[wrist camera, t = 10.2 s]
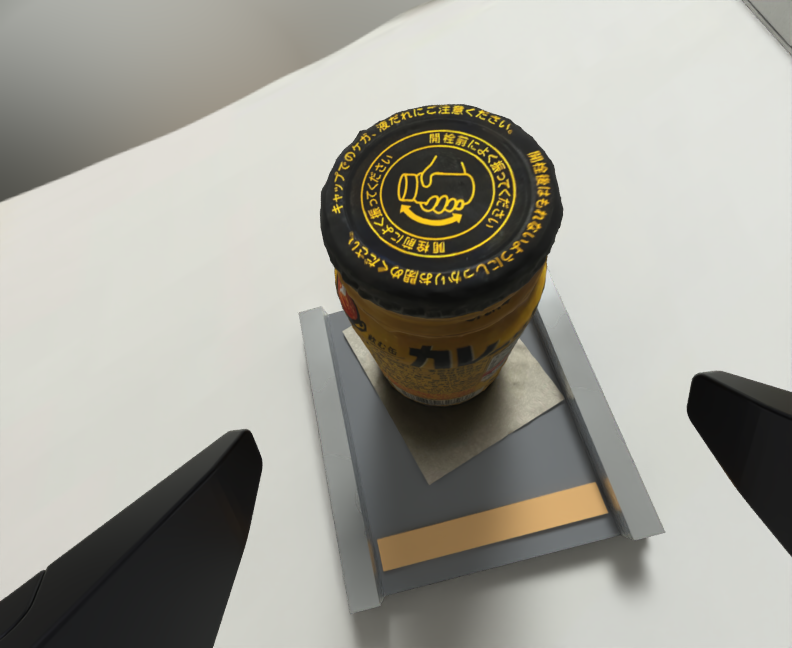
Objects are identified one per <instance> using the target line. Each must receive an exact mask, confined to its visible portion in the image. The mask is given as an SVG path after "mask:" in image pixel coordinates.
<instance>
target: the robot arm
mask: <svg viewBox="0 0 792 648" xmlns="http://www.w3.org/2000/svg"><path fill="white" fill-rule="evenodd" d="M687 414H688V417H689V419H690V421H691V422H692V424H693V425H694V427H695V428H696V430H697V431H698V433H699V434H700V436H701V437H702V439H703V440H704V442H705V443H706V445H707V446H708V448H709V449H710V451H711V452H712V454H713V455H714V457H715V458H716V460H717V461H718V463H719V464H720V466H721V467H722V469H723V470H724V472H725V473H726V475H727V476H728V478H729V479H730V480H731V482H732V483H733V485H734V486H735V487H736V489H737V490H738V491H739V493H740V494H741V495H742V497H743V498H744V499H745V500H746V502H747V503H748V504H749V505H750V507H751V508H752V509H753V510H754V512H755V513H756V514H757V515H758V516H759V518H760V519H761V520H762V521H763V523H764V524H765V525H766V526H767V527H768V529H769V530H770V531H771V532H772V534H773V535H774V536H775V537H776V538H777V540H778V541H779V542H780V543H781V545H782V546H783V547H784V548H785V549H786V551H787V552H788V553H789V554H790V556H791V557H792V392H790V391H786V390H783V389H780V388H776V387H773V386H770V385H766V384H763V383H760V382H757V381H753V380H750V379H747V378H743V377H740V376H737V375H733V374H730V373H727V372H723V371H710V372H702V373H698V374H696V375H694V377H693V378H692V382H691V387H690V392H689V398H688V403H687ZM261 473H262V458H261V455H260V452H259V450H258V447H257V445H256V442H255V440H254V437H253V435H252V433H251V432H250V430H248V429H241V430H233V431H229V432H227V433H226V434H224V435H223V436H222V437H220V438H219V439H218V440H216V441H215V442H213V443H212V444H211V445H209V446H208V447H207V448H205V449H204V450H203V451H201V452H200V453H199V454H197V455H196V456H195V457H193V458H192V459H191V460H189V461H188V462H187V463H185V464H184V465H183V466H181V467H180V468H179V469H177V470H176V471H175V472H173V473H172V474H171V475H169V476H168V477H167V478H165V479H164V480H163V481H161V482H160V483H159V484H157V485H156V486H155V487H153V488H152V489H151V490H149V491H148V492H146V493H145V494H144V495H142V496H141V497H140V498H138V499H137V500H136V501H134V502H133V503H132V504H130V505H129V506H128V507H126V508H125V509H124V510H122V511H121V512H120V513H118V514H117V515H116V516H114V517H113V518H112V519H110V520H109V521H108V522H106V523H105V524H104V525H102V526H101V527H100V528H98V529H97V530H96V531H94V532H93V533H92V534H90V535H89V536H88V537H86V538H85V539H84V540H82V541H81V542H80V543H78V544H77V545H75V546H74V547H73V548H71V549H70V550H69V551H67V552H66V553H65V554H63V555H62V556H61V557H59V558H58V559H57V560H55V561H54V562H53V563H51V564H50V565H49V566H48V567H47V569H46V570H42V571H40V572H39V573H38V574H36V575H35V576H34V577H32V578H31V579H30V580H28V581H27V582H26V583H24V584H23V585H22V586H20V587H19V588H18V589H16V590H15V591H14V592H12V593H11V594H10V595H8V596H7V597H6V598H4V599H3V600H1V601H0V648H213V646H214V643H215V639H216V636H217V633H218V630H219V627H220V624H221V621H222V618H223V614H224V611H225V608H226V605H227V602H228V599H229V596H230V592H231V589H232V586H233V583H234V580H235V577H236V574H237V571H238V567H239V564H240V561H241V558H242V555H243V552H244V548H245V545H246V542H247V538H248V534H249V529H250V525H251V520H252V515H253V511H254V506H255V501H256V496H257V492H258V487H259V482H260V477H261Z"/></svg>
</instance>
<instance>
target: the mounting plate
mask: <svg viewBox="0 0 792 648" xmlns="http://www.w3.org/2000/svg"><path fill="white" fill-rule="evenodd" d="M328 317H329V322H330V327H331V332H332V336H333V341H334V346H335V351H336V356H337V361H338V366H339V371H340V376H341V381H342V386H343V391H344V396H345V401H346V406H347V411H348V416H349V421H350V426H351V431H352V436H353V441H354V446H355V451H356V456H357V461H358V466H359V471H360V476H361V481H362V486H363V491H364V496H365V501H366V506H367V511H368V516H369V521H370V526H371V531H372V536H373V541H374V546H375V551H376V556H377V561H378V566H379V571H380V576H381V581H382V586H383V591H384V596H387V595H390V594H394V593H398V592H402V591H406V590H410V589H414V588H417V587H421V586H425V585H429V584H433V583H437V582H441V581H445V580H448V579H452V578H456V577H460V576H464V575H468V574H472V573H475V572H479V571H483V570H487V569H491V568H495V567H499V566H502V565H506V564H510V563H514V562H518V561H522V560H526V559H529V558H533V557H537V556H541V555H545V554H549V553H553V552H556V551H560V550H564V549H568V548H572V547H576V546H580V545H583V544H587V543H591V542H595V541H599V540H603V539H607V538H611V537H614V536H618V535H621V534H620V532H619V530H618V527H617V525H616V522H615V520H614V517H613V515H612V512H611V510H610V507H609V505H608V502H607V500H606V498H605V495H604V493H603V490H602V488H601V485H600V483H599V480H598V478H597V475H596V473H595V471H594V468H593V466H592V463H591V461H590V458H589V456H588V453H587V451H586V448H585V446H584V444H583V441H582V439H581V436H580V434H579V431H578V429H577V426H576V424H575V421H574V419H573V417H572V414H571V412H570V409H569V407H568V404H567V402H566V399H564V400H562V401H561V402H559V403H558V404H556V405H554V406H553V407H551V408H550V409H548V410H547V411H545V412H543V413H542V414H540V415H539V416H537V417H535V418H534V419H532V420H531V421H529V422H528V423H526V424H524V425H523V426H521V427H520V428H518V429H517V430H515V431H513V432H512V433H510V434H508V435H507V436H506V437H504V438H502V439H501V440H499V441H498V442H496V443H495V444H493V445H491V446H490V447H488V448H486V449H485V450H483V451H482V452H480V453H479V454H477V455H476V456H474V457H472V458H471V459H469V460H468V461H466V462H465V463H463V464H461V465H460V466H458V467H457V468H455V469H454V470H452V471H450V472H449V473H447V474H446V475H444V476H443V477H441V478H440V479H438V480H436V481H435V482H433V483H432V484H430V485H429V484H428V482H427V480H426V479H425V477H424V475H423V473H422V471H421V470H420V468H419V466H418V465H417V463H416V461H415V459H414V457H413V455H412V454H411V452H410V450H409V448H408V447H407V445H406V443H405V441H404V439H403V438H402V436H401V434H400V433H399V431H398V429H397V427H396V425H395V424H394V422H393V420H392V418H391V417H390V415H389V413H388V411H387V409H386V408H385V406H384V404H383V402H382V400H381V399H380V397H379V395H378V393H377V391H376V390H375V388H374V386H373V384H372V383H371V381H370V379H369V377H368V376H367V374H366V372H365V370H364V369H363V367H362V365H361V363H360V361H359V360H358V358H357V356H356V354H355V353H354V351H353V349H352V347H351V346H350V344H349V342H348V340H347V339H346V337H345V335H344V333H343V332H342V331H344V330H345V329H347V328H349V327H350V326H352V325H351V323H350V321H349V320H348V317H347V316H346V314H345V312H344V310H343V311H340V312H336V313H333V314H329V315H328ZM520 340H521V341H522V342H523V343H524V344H525V346H526V347H527V349H528V350H529V352H530V353H531V354H532V356H533V357H534V358H535V359H536V360H537V361H538V363H539V364H540V366H541V367H542V369H543V370H544V371H545V373H546V374H547V375H548V376H549V378H550V379H551V380H552V381H553V383H554V384H555V385H556V387H557V388H558V390H559V391H560V392H561V394H562V395H563V396H564V394H563V392H562V390H561V387H560V385H559V382H558V380H557V377H556V375H555V372H554V370H553V367H552V365H551V362H550V360H549V358H548V355H547V353H546V350H545V348H544V345H543V343H542V340H541V338H540V335H539V333H538V331H537V328H536V326H535V323H534V321H533V318H531V320H530V322H529V323H528V325H527V327H526V328H525V330H524V333H523V334H522V335H521V337H520ZM498 378H499V376H498ZM498 378H497V379H498ZM498 386H499V385H498ZM564 398H565V397H564Z"/></svg>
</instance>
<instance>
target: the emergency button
mask: <svg viewBox="0 0 792 648" xmlns="http://www.w3.org/2000/svg"><path fill="white" fill-rule="evenodd" d="M742 1H743V2H744V3H745V4H746V5H747V6H748V7H749V9H750V10H751V11H752V12H753V13H754V14H755V15H756V16H757V17H758V19H759V20H760V21H761V22H762V23H763V24H764V25H765V26H766V28H767V29H768V30H769V31H770V32H771V33H772V34H773V35H774V37H775V38H776V39H777V40H778V41H779V42H780V43H781V44H782V46H783V47H784V48H785V49H786V50H787V51H788V52H789V53H790V54H791V56H792V0H742Z"/></svg>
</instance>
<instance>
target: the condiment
mask: <svg viewBox="0 0 792 648" xmlns="http://www.w3.org/2000/svg"><path fill="white" fill-rule="evenodd" d="M562 217H563V206H562V203H561V197H560V193H559V187H558V183H557V179H556V175H555V168H554V165H553V163H552V161H551V160H550V159H549V157H548V156H547V154H546V153H545V151H544V150H543V149H542V148H541V147H540V146H539V145H538V144H537V142H536V141H535V140H534V139H533V137H532V136H530V135H529V134H527V133H526V132H525V131H524V130H523V129H522V128H521V127H520V126H518V125H516V124H514V123H513V122H512V121H511V120H510V119H508V118H505V117H503V116H499V115H496V114H493V113H490V112H487V111H484V110H482V109H480V108H477V107H474V106H469V105H464V104H447V105H429V106H423V107H419V108H414V109H408V110H406V111H401V112H398V113H395V114H394V115H392V116H390V117H388V118H387V119H385V120H382V121H379V122H377V123H376V124H375V125H373V126H372V127H370V128H368V129H367V130H362V131H359V133H358V135H357V137H356V138H355V140H354V141H353V143H351V144H350V145H349V146H348V147H346V148H345V149H344V150H343V151H342V153H341V154H340V155H339V157H338V158H337V159H336V162H335V164H334V166H333V168H332V170H331V172H330V174H329V176H328V179H327V182H326V184H325V185H324V187H323V188H322V191H321V209H320V222H321V232H322V236H323V241H324V245H325V247H326V249H327V252H328V255H329V257H330V261H331V263H332V264H333V266H334V268H335V285H336V290H337V294H338V297H339V299H340V302H341V305H342V308H343V310H344V312H345V314H346V316H347V317H348V320H349V321H350V323H351V325H352V326H350V327H349V328H347V329H345V330H344V331H342V332H343V333H344V335H345V337H346V339H347V340H348V342H349V344H350V346H351V347H352V349H353V351H354V353H355V354H356V356H357V358H358V360H359V361H360V363H361V365H362V367H363V369H364V370H365V372H366V374H367V376H368V377H369V379H370V381H371V383H372V384H373V386H374V388H375V390H376V391H377V393H378V395H379V397H380V399H381V400H382V402H383V404H384V406H385V408H386V409H387V411H388V413H389V415H390V417H391V418H392V420H393V422H394V424H395V425H396V427H397V429H398V431H399V433H400V434H401V436H402V438H403V439H404V441H405V443H406V445H407V447H408V448H409V450H410V452H411V454H412V455H413V457H414V459H415V461H416V463H417V465H418V466H419V468H420V470H421V471H422V473H423V475H424V477H425V479H426V480H427V482H428V484H429V485H430V484H432V483H433V482H435V481H436V480H438V479H440V478H441V477H443V476H444V475H446V474H447V473H449V472H450V471H452V470H454V469H455V468H457V467H458V466H460V465H461V464H463V463H465V462H466V461H468V460H469V459H471V458H472V457H474V456H476V455H477V454H479V453H480V452H482V451H483V450H485V449H486V448H488V447H490V446H491V445H493V444H495V443H496V442H498V441H499V440H501V439H502V438H504V437H506V436H507V435H508V434H510V433H512V432H513V431H515V430H517V429H518V428H520V427H521V426H523V425H524V424H526V423H528V422H529V421H531V420H532V419H534V418H535V417H537V416H539V415H540V414H542V413H543V412H545V411H547V410H548V409H550V408H551V407H553V406H554V405H556V404H558V403H559V402H561V401H562V400H564V399H565V398H564V396H563V395H562V394H561V392H560V391H559V390H558V388H557V387H556V385H555V384H554V383H553V381H552V380H551V379H550V378H549V376H548V375H547V374H546V373H545V371H544V370H543V369H542V367H541V366H540V364H539V363H538V361H537V360H536V359H535V358H534V357H533V356H532V354H531V353H530V352H529V350H528V349H527V347H526V346H525V344H524V343H523V342H522V341H521V340H520V337H521V335H522V334H523V333H524V330H525V328H526V327H527V325H528V323H529V322H530V320H531V318H532V317H533V316H534V314H535V312H536V310H537V307H538V304H539V302H540V299H541V296H542V293H543V290H544V288H545V282H546V272H547V263H546V262H547V255H548V254H549V253H550V250H551V247H552V245H553V244H554V242H555V236H556V234H557V232H558V229H559V228H560V226H561V221H562ZM498 376H499V378H498ZM497 378H498V379H497ZM498 385H499V386H498Z"/></svg>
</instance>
